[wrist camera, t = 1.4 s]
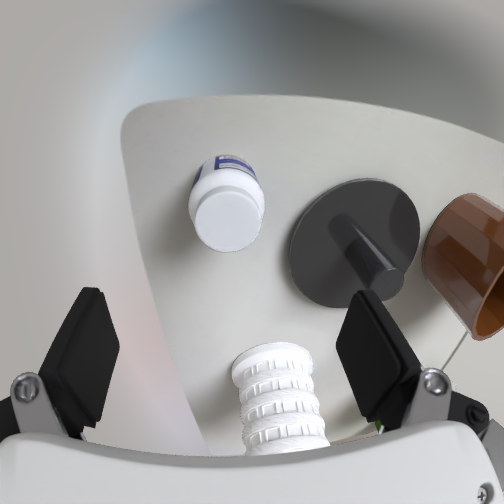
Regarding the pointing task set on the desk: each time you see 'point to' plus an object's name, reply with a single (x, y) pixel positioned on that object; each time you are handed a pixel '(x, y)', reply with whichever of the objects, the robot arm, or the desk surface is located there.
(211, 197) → the pill bottle
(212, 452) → the desk surface
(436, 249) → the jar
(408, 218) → the lid
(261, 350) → the decorative container
